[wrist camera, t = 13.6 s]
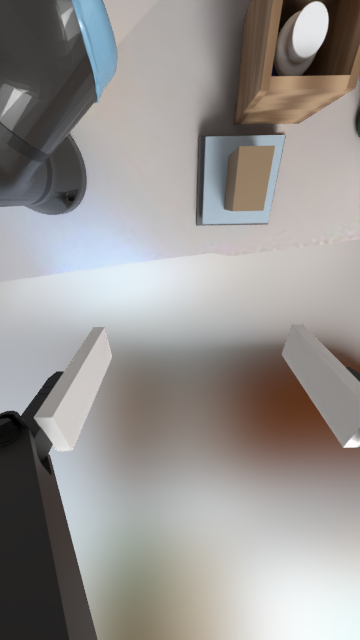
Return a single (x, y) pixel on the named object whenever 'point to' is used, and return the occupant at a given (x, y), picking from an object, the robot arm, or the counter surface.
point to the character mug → (358, 125)
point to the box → (317, 81)
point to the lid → (240, 178)
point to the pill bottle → (300, 40)
